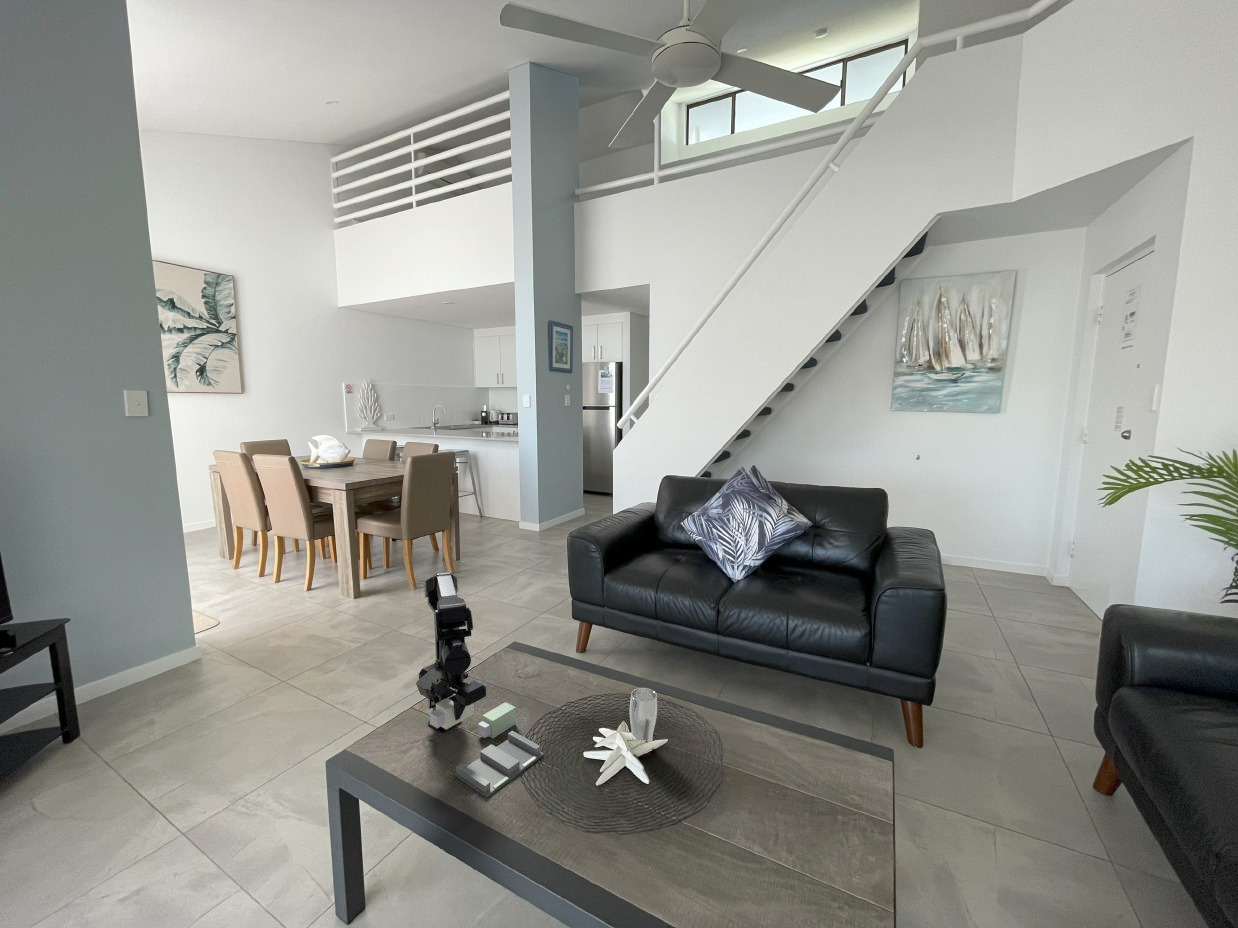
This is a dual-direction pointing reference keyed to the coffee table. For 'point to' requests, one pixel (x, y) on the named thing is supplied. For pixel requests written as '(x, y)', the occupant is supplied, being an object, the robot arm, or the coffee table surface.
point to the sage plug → (497, 720)
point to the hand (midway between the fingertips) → (451, 716)
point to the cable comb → (499, 764)
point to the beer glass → (643, 713)
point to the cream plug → (448, 714)
